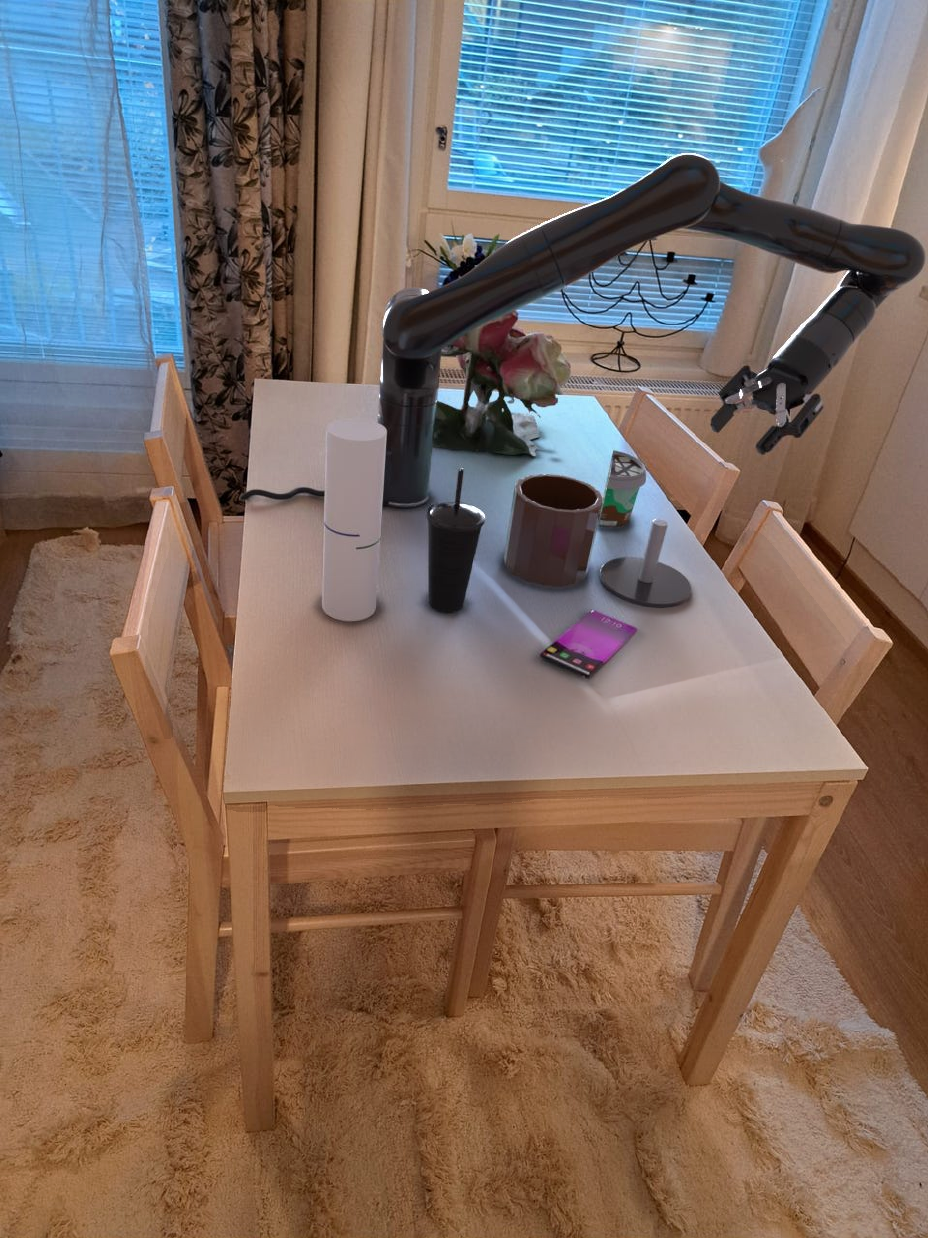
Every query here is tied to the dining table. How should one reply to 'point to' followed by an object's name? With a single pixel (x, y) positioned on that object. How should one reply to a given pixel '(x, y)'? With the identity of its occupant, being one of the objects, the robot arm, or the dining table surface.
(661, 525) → the lid
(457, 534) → the drinking cup
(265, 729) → the dining table surface
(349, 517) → the cylindrical container
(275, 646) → the dining table surface
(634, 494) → the food container
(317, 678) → the dining table surface
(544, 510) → the brown cylindrical pot
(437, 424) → the rose bouquet
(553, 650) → the smartphone
